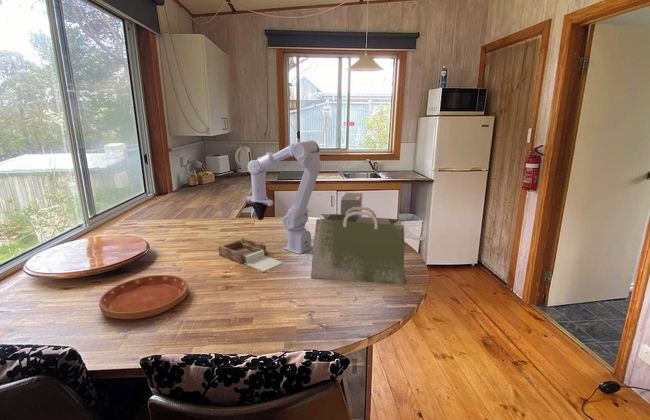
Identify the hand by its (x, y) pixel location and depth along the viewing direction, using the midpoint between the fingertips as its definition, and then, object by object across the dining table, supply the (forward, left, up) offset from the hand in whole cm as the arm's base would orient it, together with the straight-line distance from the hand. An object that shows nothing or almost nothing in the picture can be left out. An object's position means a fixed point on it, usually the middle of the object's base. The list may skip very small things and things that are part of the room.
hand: (260, 219), depth 147 cm
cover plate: (-19, +15, -10) cm, 26 cm away
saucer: (-13, +55, -10) cm, 57 cm away
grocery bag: (-51, 0, -10) cm, 52 cm away
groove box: (-6, +15, -10) cm, 19 cm away
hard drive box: (-30, -25, -10) cm, 40 cm away
